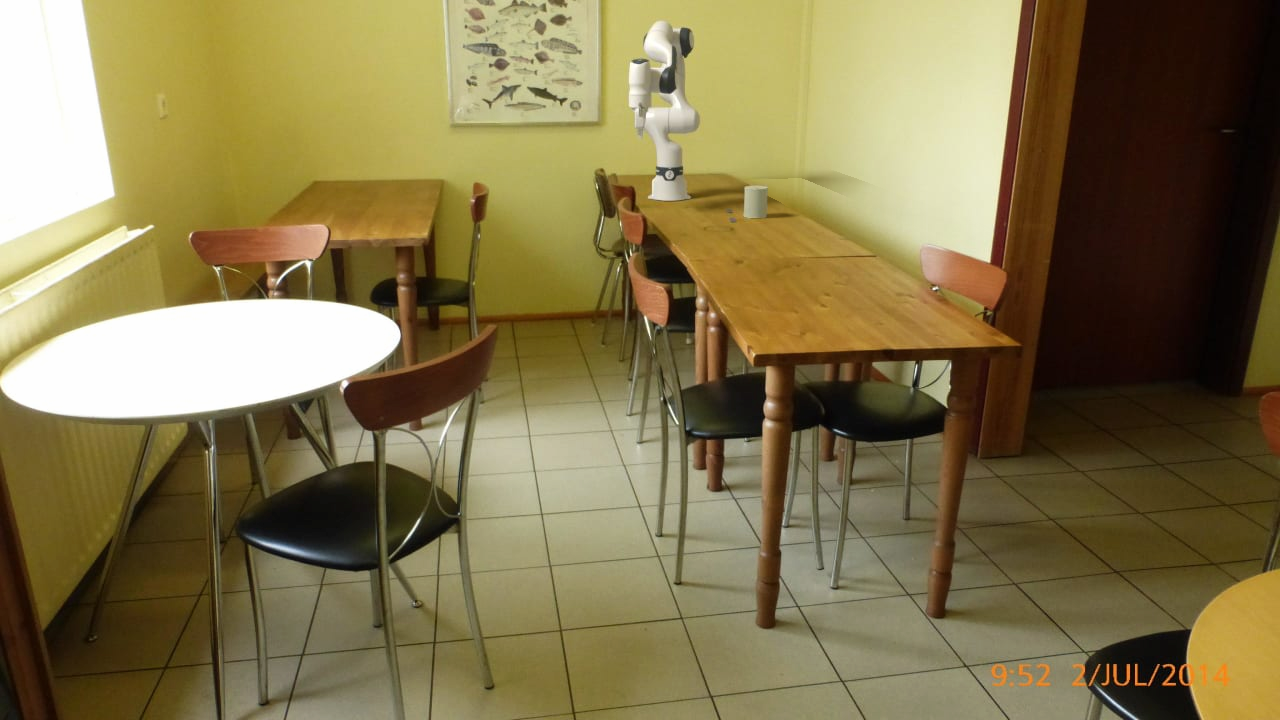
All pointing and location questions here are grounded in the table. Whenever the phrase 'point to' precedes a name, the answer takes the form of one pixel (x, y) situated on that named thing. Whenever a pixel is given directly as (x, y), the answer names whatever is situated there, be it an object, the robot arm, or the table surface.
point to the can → (755, 202)
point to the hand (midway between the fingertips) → (640, 138)
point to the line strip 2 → (732, 219)
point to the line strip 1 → (729, 211)
